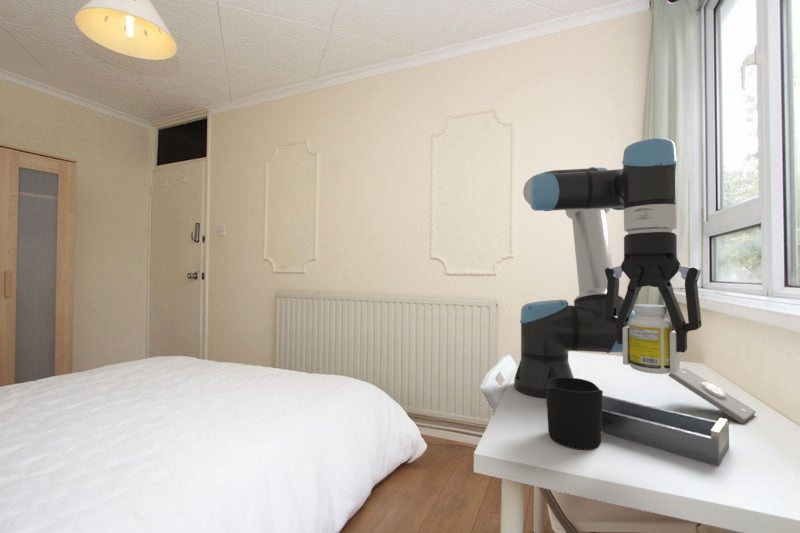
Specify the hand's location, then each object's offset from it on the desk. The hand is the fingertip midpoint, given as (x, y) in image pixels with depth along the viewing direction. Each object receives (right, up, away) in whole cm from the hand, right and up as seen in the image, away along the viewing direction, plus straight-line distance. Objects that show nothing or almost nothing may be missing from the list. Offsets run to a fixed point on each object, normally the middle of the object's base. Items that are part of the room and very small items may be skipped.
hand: (650, 366), depth 64 cm
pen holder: (-11, -15, +4) cm, 19 cm away
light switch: (+26, -15, +19) cm, 35 cm away
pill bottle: (0, -1, 0) cm, 1 cm away
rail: (+4, -14, +6) cm, 16 cm away
